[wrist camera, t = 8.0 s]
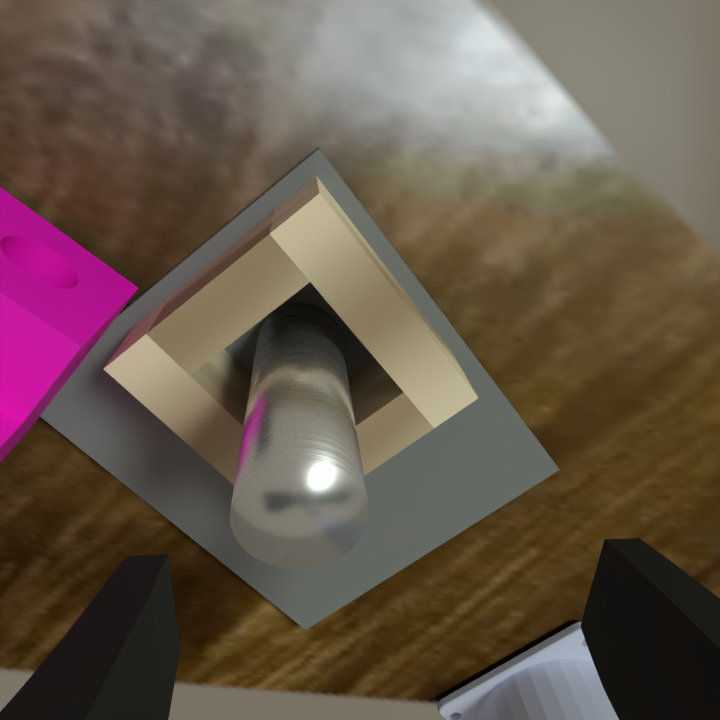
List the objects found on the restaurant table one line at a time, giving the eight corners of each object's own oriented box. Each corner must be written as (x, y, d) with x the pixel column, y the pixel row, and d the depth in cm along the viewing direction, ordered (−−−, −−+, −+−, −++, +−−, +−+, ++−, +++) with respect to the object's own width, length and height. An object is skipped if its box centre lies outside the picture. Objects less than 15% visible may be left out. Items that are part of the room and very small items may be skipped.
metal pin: (357, 347, 18) (395, 522, 11) (293, 393, 19) (291, 588, 12) (306, 286, 17) (311, 435, 10) (239, 336, 18) (199, 512, 10)
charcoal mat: (554, 461, 21) (559, 469, 21) (305, 619, 24) (305, 630, 23) (318, 147, 16) (319, 148, 16) (25, 391, 18) (18, 398, 18)
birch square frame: (452, 353, 19) (478, 398, 16) (286, 470, 20) (284, 530, 17) (316, 175, 16) (319, 193, 13) (134, 325, 17) (103, 369, 14)
